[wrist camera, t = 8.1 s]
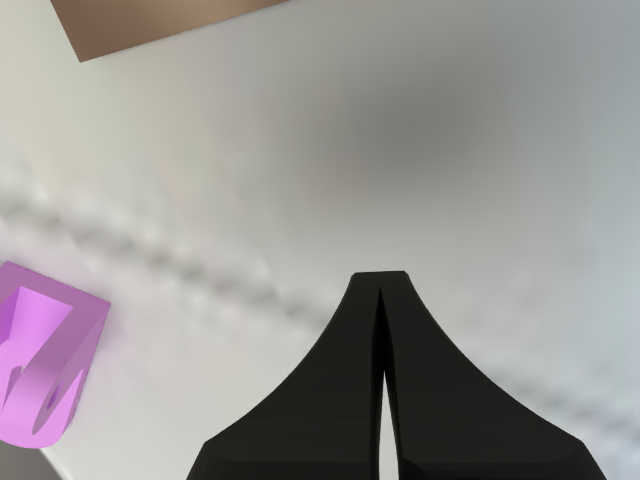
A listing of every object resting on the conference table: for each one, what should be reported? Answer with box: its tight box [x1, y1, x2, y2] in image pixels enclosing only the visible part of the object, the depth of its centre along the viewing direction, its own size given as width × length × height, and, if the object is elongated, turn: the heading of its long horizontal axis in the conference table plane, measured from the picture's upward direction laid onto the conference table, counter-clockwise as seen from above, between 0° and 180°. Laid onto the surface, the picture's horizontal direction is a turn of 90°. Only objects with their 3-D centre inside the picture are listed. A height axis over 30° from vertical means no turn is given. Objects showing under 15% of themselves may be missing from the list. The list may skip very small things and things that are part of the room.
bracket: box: [0, 261, 111, 448], centre depth 27 cm, size 13×6×7 cm, turn 154°
